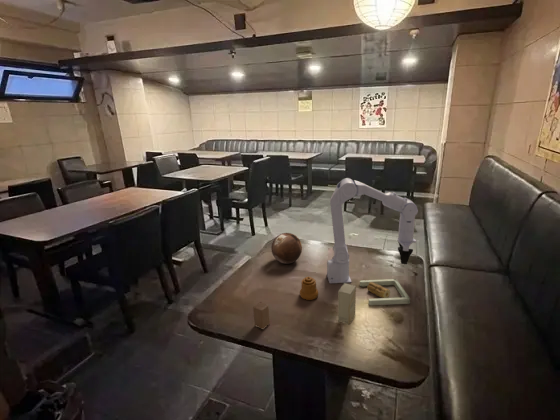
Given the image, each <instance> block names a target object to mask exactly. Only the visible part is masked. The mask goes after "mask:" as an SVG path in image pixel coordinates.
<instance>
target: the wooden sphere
mask: <svg viewBox="0 0 560 420" xmlns="http://www.w3.org/2000/svg"><path fill="white" fill-rule="evenodd" d="M302 252H303V245H302V242H301V240H300V239H299V237H298V236H297V235H295V234H293V233H291V232H283V233H280V234H277V236H275V238H274V239H273V240H272V243H271V254H272V256H273V257H274V259H275V260H276V261H277V262H279V263H282V264H286V265H287V264H293V263H295V262H296V261H297V260H299V258H300V257H301V255H302Z"/></svg>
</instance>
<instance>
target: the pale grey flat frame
mask: <svg viewBox="0 0 560 420" xmlns="http://www.w3.org/2000/svg"><path fill="white" fill-rule="evenodd" d="M370 282H373V283H375V284H378V285H380V286H394V287H395V288H396V290H397V292H398V293H399V295H400V296H401V297H388V298H382V297H379V298H368V305H369V306H385V305H406V304H407V305H409V304H411V298H410V296H409V295H408V294H407V292H406V291H405V289H404V287H402V285H401V284H400V282H399V280H398V279H397V278H388V279H370V280H369V279H368V280H366V279H365V280H364V279H363V280H359V286H360V287H368V284H369V283H370Z"/></svg>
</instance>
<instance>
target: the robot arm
mask: <svg viewBox="0 0 560 420" xmlns="http://www.w3.org/2000/svg"><path fill="white" fill-rule="evenodd" d="M332 192H333V193H332V194H331V197H330V199H329V205H330V213H331V223H332V231H333V242H334V244H333V246H332V250H333V257H332V258H331V259H329V260H328V259H327V260H326V276H327V279H328V283H329V284H344V283H347V284H350V283H352V279H351V277H350V254H349V251H348V245H347V243H346V237H345V228H344V227H345V225H344V215H343V207H342V206H343V204H345V202H346V201H348V200H350V199H353V198H354V197H355V196H357V197H360V196H363V195H365V196H368V197H370V198H373V199H375V200H378V201H380V202H381V203H382V205H383V206H384V207H386V208H388V209H391V210H394V211H396V212H399V223H398V236H397V238H396V239H397V242H398V245H399V246H398V247H397V251H398V253H399V257H400V264H401V265H408V263H409V259H410V257H411V255H412V254H413V252H414V249H413V248H410V247H411V245H413V244H414V243H415V244H416V243H417V239H415V238H414V234H415V232H414V231H415V220H416V216H417V215H418V213H419V209H418V206H417V204H415V203H414V202H413V200H412V199H410V198H407V197H402V196H400V195H397V192H394V191H393V192H389V191H388V192H382V191H380V190H378V189H376V188H374V187H372V186H370V185H367V184H366V183H364V182H361V181H358V180H355V179H354V180H353V179H351V178H350V177H346V178H342V179H341V180H340V181H339V182H338V183H337V184H336V186H335V189H334V191H332Z"/></svg>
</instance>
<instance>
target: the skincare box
mask: <svg viewBox="0 0 560 420" xmlns="http://www.w3.org/2000/svg"><path fill="white" fill-rule="evenodd" d="M356 291H357V286H356V285H355V284H350V283H342V285H341V286H340V288H339V289H338V291H337V292H338V294H337V295H338V297H337V304H338V307H337V308H338V309H337V321H338V322H341V323H343V324H346V325H351V323H352V322H353V320H354V318H355V316H356V300H357V299H356V297H357V295H356V294H357V293H356Z"/></svg>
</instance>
